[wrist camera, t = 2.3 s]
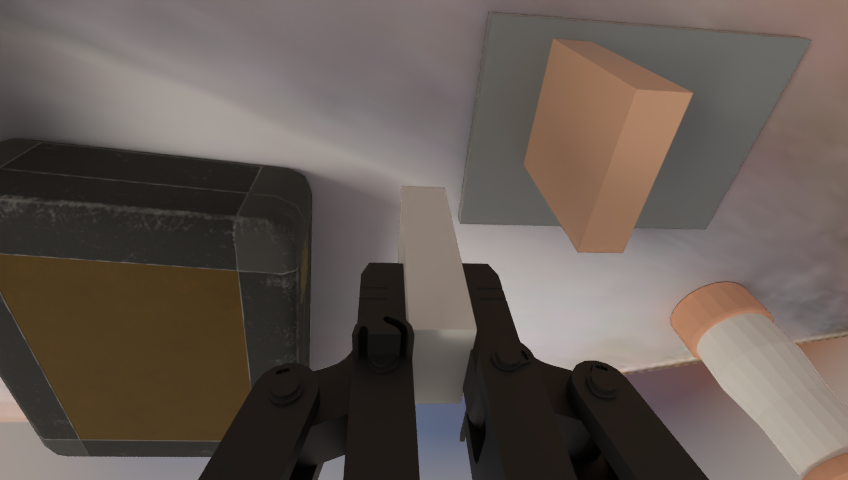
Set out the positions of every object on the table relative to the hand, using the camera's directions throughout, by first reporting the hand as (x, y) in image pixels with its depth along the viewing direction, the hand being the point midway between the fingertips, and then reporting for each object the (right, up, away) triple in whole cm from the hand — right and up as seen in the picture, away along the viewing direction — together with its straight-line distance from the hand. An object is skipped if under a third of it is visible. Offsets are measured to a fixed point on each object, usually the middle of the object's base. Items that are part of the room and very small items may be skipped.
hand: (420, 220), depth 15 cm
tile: (+8, +8, +12) cm, 17 cm away
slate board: (+13, +7, +14) cm, 21 cm away
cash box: (-20, -5, +20) cm, 28 cm away
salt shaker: (+28, -7, +26) cm, 39 cm away
